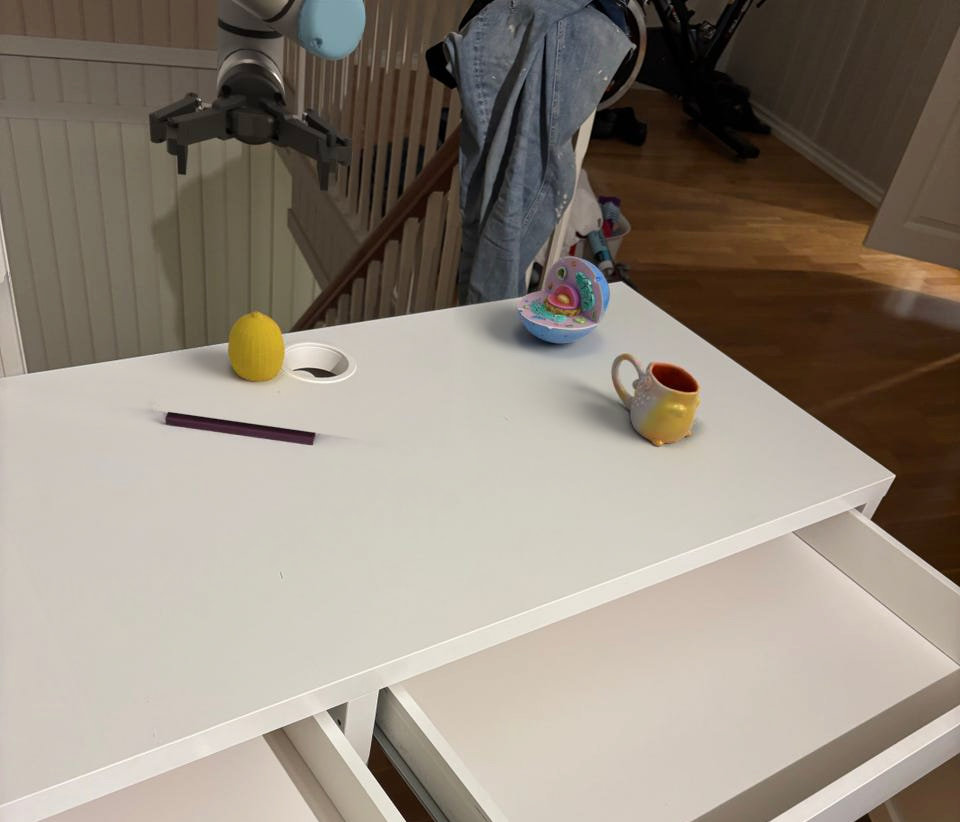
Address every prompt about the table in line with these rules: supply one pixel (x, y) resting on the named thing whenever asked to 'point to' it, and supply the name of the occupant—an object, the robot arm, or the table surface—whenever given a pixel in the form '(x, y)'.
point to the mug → (659, 399)
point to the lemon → (256, 347)
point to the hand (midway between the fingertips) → (254, 168)
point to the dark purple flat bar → (239, 428)
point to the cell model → (566, 302)
